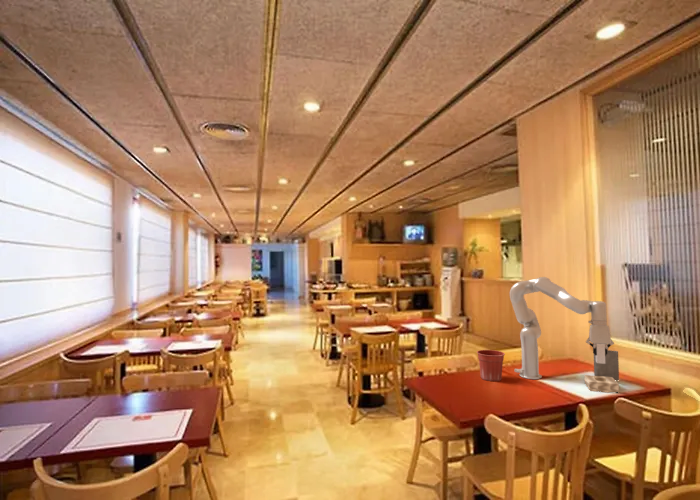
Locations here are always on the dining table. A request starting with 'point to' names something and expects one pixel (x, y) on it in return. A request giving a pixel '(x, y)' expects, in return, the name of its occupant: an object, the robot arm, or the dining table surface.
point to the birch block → (601, 383)
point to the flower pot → (491, 364)
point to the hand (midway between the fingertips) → (600, 354)
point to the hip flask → (608, 366)
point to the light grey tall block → (600, 353)
